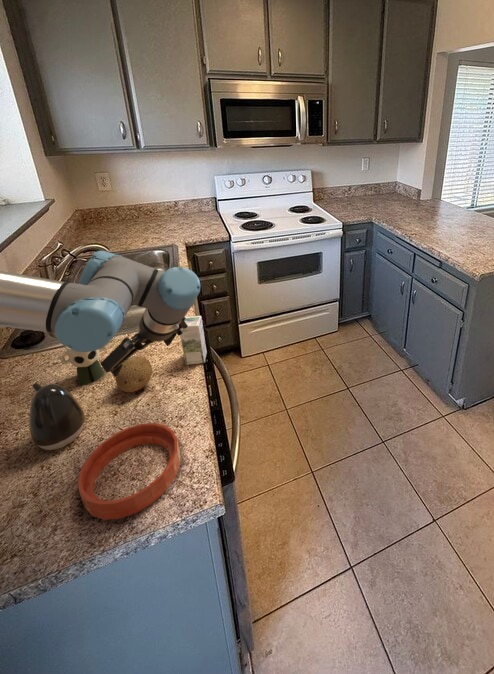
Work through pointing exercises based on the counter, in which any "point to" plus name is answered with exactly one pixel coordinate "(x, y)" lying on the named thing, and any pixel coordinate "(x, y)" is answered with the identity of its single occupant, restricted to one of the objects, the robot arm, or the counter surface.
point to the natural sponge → (134, 374)
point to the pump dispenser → (54, 417)
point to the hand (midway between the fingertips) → (140, 355)
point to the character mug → (84, 364)
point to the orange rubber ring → (113, 449)
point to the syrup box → (193, 341)
